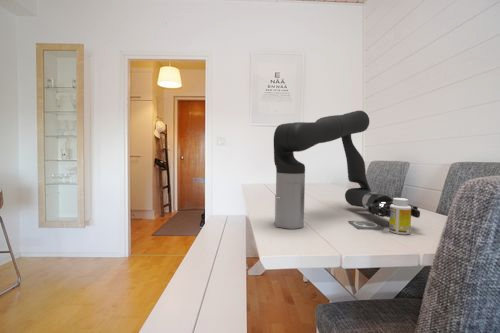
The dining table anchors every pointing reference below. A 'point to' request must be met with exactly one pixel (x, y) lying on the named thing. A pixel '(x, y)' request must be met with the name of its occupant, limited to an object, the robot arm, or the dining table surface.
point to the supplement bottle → (400, 216)
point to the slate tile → (366, 225)
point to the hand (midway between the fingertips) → (403, 214)
